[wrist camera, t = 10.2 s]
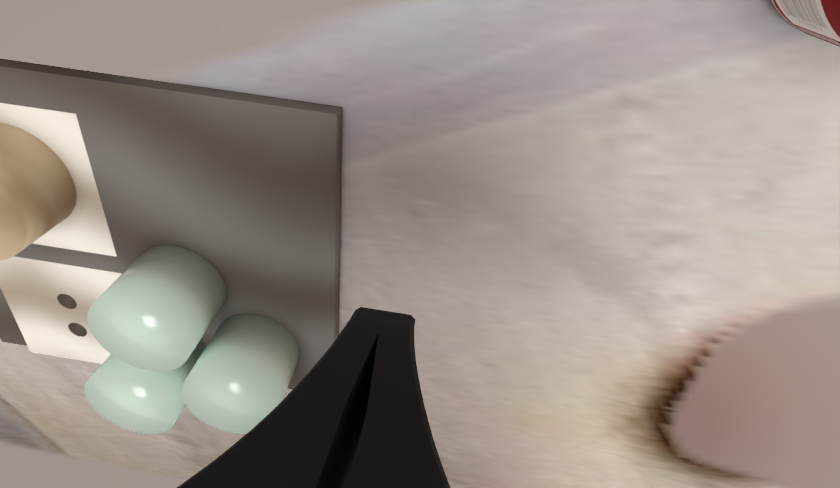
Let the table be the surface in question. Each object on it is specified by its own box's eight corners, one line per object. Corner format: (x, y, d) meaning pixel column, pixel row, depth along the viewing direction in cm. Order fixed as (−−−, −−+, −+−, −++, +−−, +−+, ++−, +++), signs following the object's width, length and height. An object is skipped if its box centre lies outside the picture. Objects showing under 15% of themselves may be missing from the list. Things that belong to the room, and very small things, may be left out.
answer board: (336, 390, 29) (333, 402, 28) (16, 337, 29) (5, 348, 29) (341, 107, 19) (336, 114, 19) (-127, 40, 20) (-148, 45, 19)
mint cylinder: (230, 323, 26) (196, 378, 23) (146, 309, 26) (101, 362, 23) (221, 253, 23) (181, 305, 20) (128, 237, 23) (75, 286, 20)
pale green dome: (316, 362, 26) (296, 418, 23) (251, 386, 28) (225, 443, 25) (263, 302, 24) (234, 355, 21) (197, 332, 26) (161, 385, 23)
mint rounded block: (214, 384, 28) (182, 440, 25) (138, 372, 29) (97, 426, 26) (203, 327, 26) (166, 381, 23) (120, 314, 26) (73, 366, 23)
